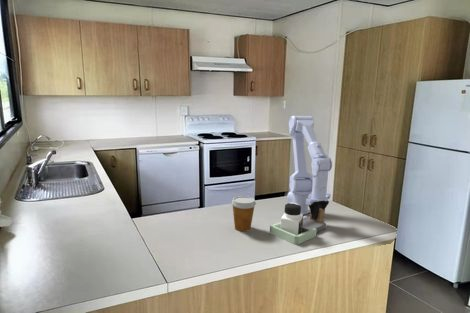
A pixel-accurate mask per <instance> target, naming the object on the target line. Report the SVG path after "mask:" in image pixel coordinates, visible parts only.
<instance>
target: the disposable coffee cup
mask: <svg viewBox="0 0 470 313" xmlns="http://www.w3.org/2000/svg"><path fill="white" fill-rule="evenodd" d="M256 204H257V202H256V200H255V198H253V197H251V196H245V195H239V196H235V197H233V198H232V201H231V205H232V211H233V213H232V214H233V222H234V223H233V224H234V229H235V231H238V232H248V231H250V230H251V228H252V223H253V216H254V210H255V206H256Z"/></svg>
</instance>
